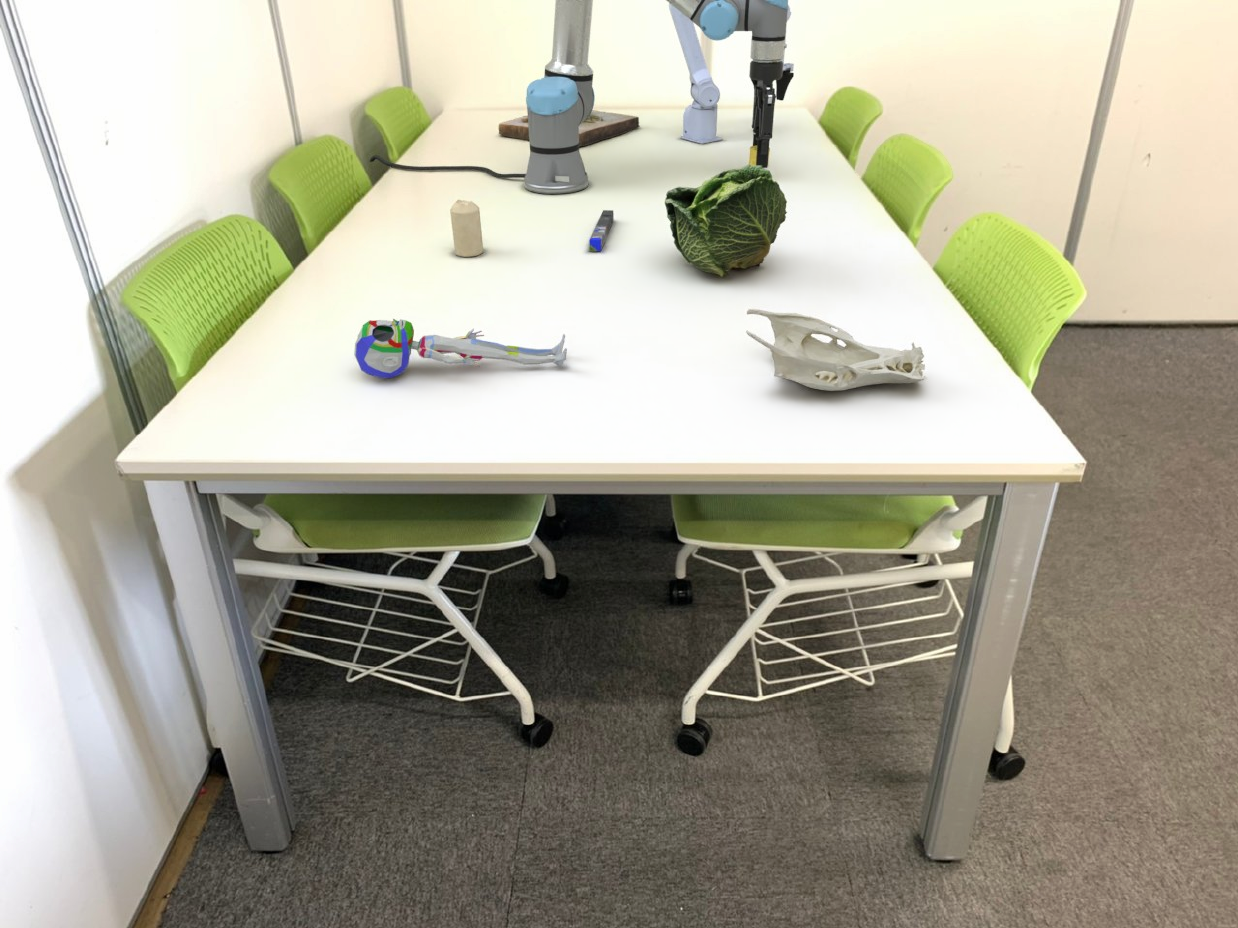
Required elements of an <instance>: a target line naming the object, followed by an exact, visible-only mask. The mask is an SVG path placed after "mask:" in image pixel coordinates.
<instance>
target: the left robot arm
mask: <svg viewBox="0 0 1238 928" xmlns="http://www.w3.org/2000/svg"><path fill="white" fill-rule="evenodd" d="M665 1H666V2H668V4H669V3H670V4H671V5H673V6H674V7H675V8H677V9H678V10H679V11H680V12H682V13H683V14H684V15H685V16H687V17H688V18H689V19H690V20H691V21H693V23H694V25H696V26H697V27H699V28H700V30H701V31H702V33H703V35H704V36H705V37H707V39H709V40H712V41H723V40H726V39H728V38H730V37H731V35H733V34H734V33H735V32H751V34H752V35H751V40H750V55H749V56H750V57H749V58H750V59H751V61H750V63H749V74H748V75H749V76H748V77H749V78H750V80H751V79H753V80H758V83H757V85H753V105H752V106H753V108H752V109H753V110H752V120H751V121H752V123H751V129H752V132H753V135H752V146H757V156H756V165H757V166H762V168H763V169H768V168H769V165H768V155H769V156H770V154H769V148H770V142H771V141H770V140H772V138H773V131H774V116H775V105H776V100H777V99H776V90H775V89H776V87H775V88H774V84H773V83H774V82H775V81H776V80H779V79H781V78H782V73H783V62H782V61H781V59H783V57H784V58H785V53H784V48H785V49H787V47H788V44H787V43H786V41H785V34H786V35H787V25H786V24H788V21H787V13H788V6H789V0H665ZM593 5H594V0H555V4H554V21H553V33H552V35H553V36H552V48H551V49H552V50H551V51H552V52H551V59H550V61H549V62H547V63H546V65H545V66H544V77H542V78H540V79H535V80H533V81H531V82H530V83H529V84H528V85H527V87H526V97H525V104H526V112H527V115H528V127H529V140H528V142H529V157H528V162H527V168H526V172H525V173H499V172H496V171H494V170H492V169H490V168H489V167H484V166H477V165H439V166H438V165H437V166H436V165H433V166H416V165H415V166H414V165H405V164H400V163H399V164H398V163H394V162H389V161H387V160H385V159H384V158H383V157H382V156H380V155H376V154H375V155H373V156H371V157H370V159H369V162H370V163H373V162H375V160H377V161H379V162H380V163H382V164H383V165H385V166H387V167H391V168H396V169H400V170H406V171H407V170H409V171H479V172H485V173H488V174H490V175H491V176H493V177H494V178H499V179H500V178H501V179H524V180H523V183H524V188H525V189H526V190H527V191H530V192H531V193H535V194H536V193H537V194H543V195H544V194H545V195H562V194H570V193H576V192H579V191H583V190H584V189H586V188H587V187H589V175H588V173H587V171H586V168H585V164H584V161H583V158H582V156H581V153H580V147H579V125H580V124H582V123H583V122H584V121H585V120H586V119H587V118H588V117H589V115H590V114H591V111H592V110H594V106H595V100H596V99H595V90H594V87H593V81H594V70H593V68H591V66H590V65H589V55H590V54H589V52H590V40H591V30H592V18H593V7H594V6H593ZM784 43H785V44H784Z"/></svg>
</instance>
